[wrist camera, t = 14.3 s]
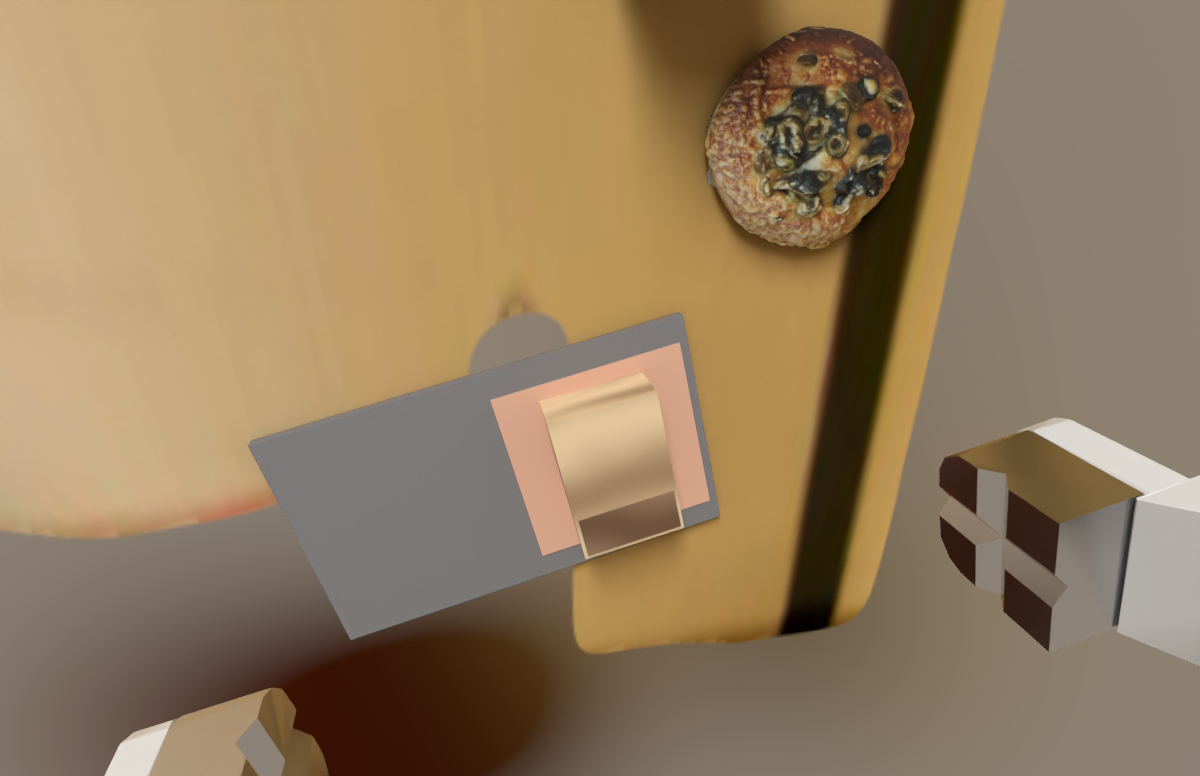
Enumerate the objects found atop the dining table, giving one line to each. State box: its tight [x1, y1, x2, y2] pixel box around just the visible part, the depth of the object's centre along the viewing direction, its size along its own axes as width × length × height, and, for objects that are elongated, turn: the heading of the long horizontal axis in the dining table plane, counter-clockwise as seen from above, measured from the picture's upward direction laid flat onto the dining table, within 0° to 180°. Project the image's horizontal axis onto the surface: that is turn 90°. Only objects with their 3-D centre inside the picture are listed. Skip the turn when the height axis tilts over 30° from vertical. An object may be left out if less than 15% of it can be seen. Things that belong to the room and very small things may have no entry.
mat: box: [248, 312, 720, 640], centre depth 40 cm, size 24×14×1 cm, turn 104°
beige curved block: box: [539, 371, 684, 559], centre depth 39 cm, size 9×6×3 cm, turn 13°
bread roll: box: [704, 26, 914, 249], centre depth 35 cm, size 11×11×5 cm
